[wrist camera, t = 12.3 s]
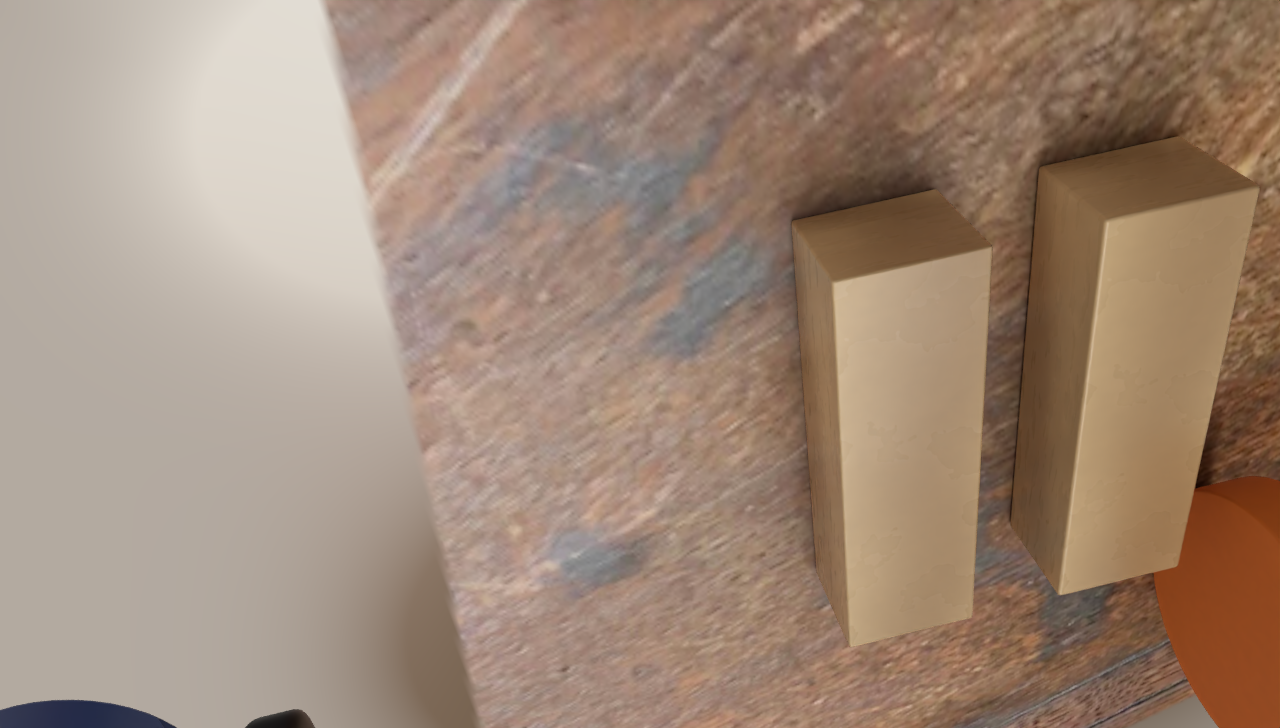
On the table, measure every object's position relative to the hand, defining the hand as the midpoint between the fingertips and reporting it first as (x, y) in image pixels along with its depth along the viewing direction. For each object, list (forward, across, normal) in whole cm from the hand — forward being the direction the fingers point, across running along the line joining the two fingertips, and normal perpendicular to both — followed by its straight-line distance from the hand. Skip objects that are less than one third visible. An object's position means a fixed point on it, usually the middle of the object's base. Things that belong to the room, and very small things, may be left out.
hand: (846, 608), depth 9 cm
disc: (+12, -13, +14) cm, 22 cm away
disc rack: (+12, -7, +8) cm, 16 cm away
